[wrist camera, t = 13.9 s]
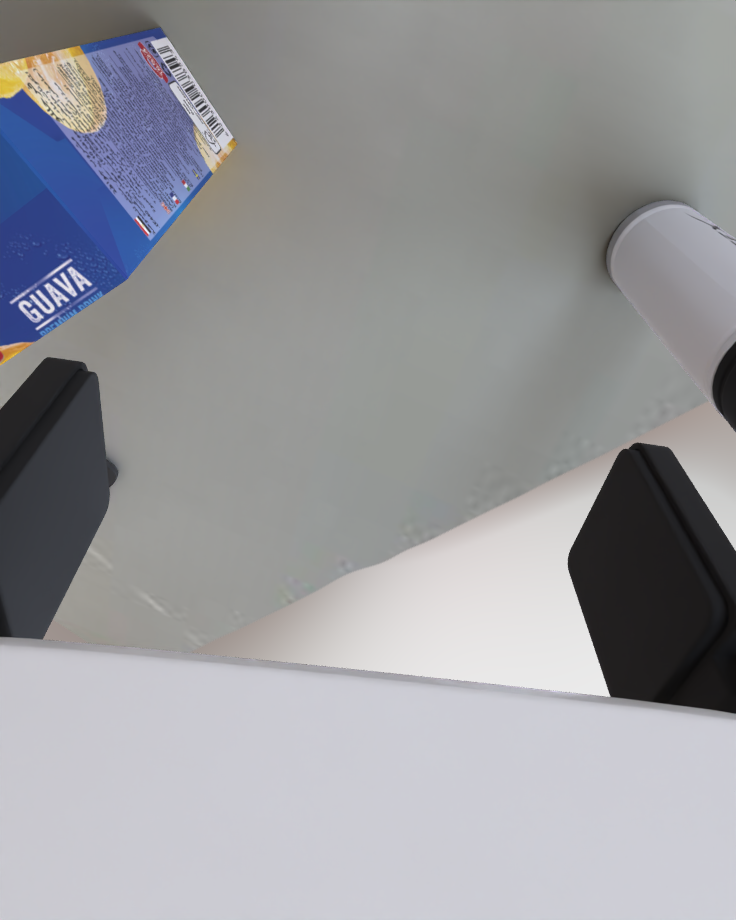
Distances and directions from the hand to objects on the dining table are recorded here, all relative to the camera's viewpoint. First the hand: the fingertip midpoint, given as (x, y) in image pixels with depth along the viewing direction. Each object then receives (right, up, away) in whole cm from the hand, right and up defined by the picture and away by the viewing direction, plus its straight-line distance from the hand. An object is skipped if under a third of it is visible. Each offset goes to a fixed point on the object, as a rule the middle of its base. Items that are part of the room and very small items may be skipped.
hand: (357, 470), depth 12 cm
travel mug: (+19, +14, +31) cm, 39 cm away
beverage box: (-14, +20, +27) cm, 36 cm away
